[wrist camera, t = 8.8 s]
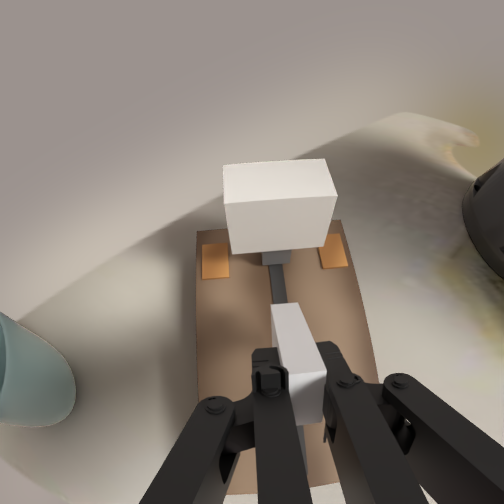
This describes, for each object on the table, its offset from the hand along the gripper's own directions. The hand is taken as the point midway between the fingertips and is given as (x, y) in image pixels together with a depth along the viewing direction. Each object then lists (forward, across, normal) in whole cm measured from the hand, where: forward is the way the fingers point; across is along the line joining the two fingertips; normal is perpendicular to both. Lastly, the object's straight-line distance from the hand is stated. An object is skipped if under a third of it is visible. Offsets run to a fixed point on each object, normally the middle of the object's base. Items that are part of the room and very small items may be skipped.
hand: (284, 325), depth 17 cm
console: (+5, 0, -5) cm, 7 cm away
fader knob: (+7, 0, +3) cm, 8 cm away
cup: (+3, -20, -8) cm, 21 cm away
